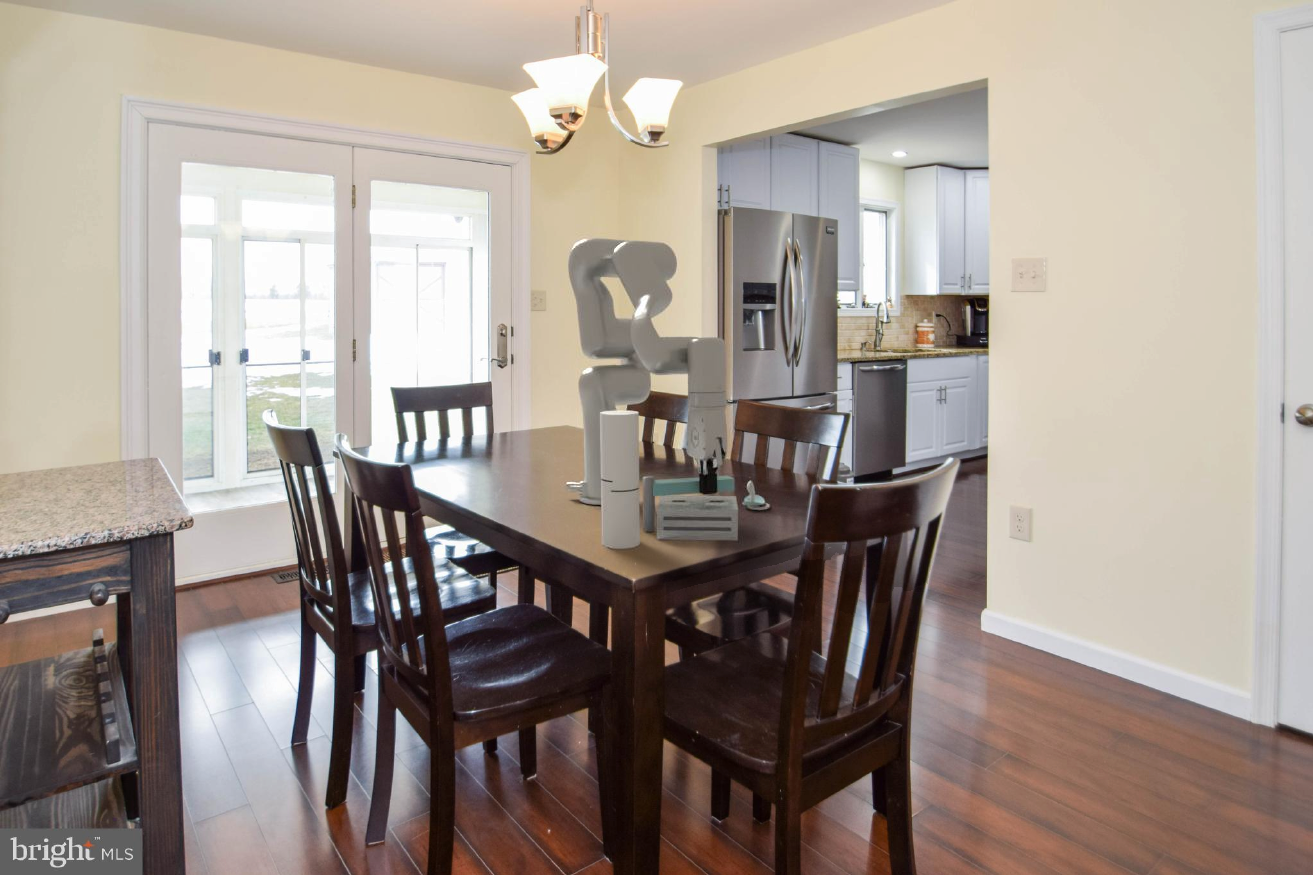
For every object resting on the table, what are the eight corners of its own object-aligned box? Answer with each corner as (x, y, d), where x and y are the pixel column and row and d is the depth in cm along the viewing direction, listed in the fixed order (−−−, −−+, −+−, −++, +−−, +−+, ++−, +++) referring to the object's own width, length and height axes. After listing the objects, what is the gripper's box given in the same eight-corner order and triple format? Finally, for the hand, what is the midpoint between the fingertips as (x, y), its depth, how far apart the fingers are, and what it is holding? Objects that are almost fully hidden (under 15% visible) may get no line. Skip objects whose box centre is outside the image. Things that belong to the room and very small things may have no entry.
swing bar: (645, 532, 158) (645, 479, 157) (640, 527, 162) (640, 476, 160) (734, 525, 163) (734, 474, 162) (727, 521, 167) (728, 470, 165)
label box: (657, 539, 154) (656, 507, 153) (660, 523, 166) (660, 493, 165) (737, 540, 153) (738, 508, 152) (735, 524, 165) (735, 494, 164)
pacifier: (771, 505, 183) (745, 503, 185) (772, 479, 182) (746, 477, 184) (767, 513, 176) (740, 510, 178) (769, 485, 175) (742, 483, 177)
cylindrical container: (617, 536, 157) (615, 409, 153) (647, 542, 153) (646, 411, 149) (594, 544, 151) (592, 413, 147) (624, 550, 147) (623, 415, 143)
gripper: (674, 399, 162) (676, 488, 164) (705, 404, 148) (706, 501, 150) (708, 397, 165) (709, 485, 167) (742, 402, 151) (742, 498, 153)
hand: (708, 493), depth 159 cm, fingers closed
